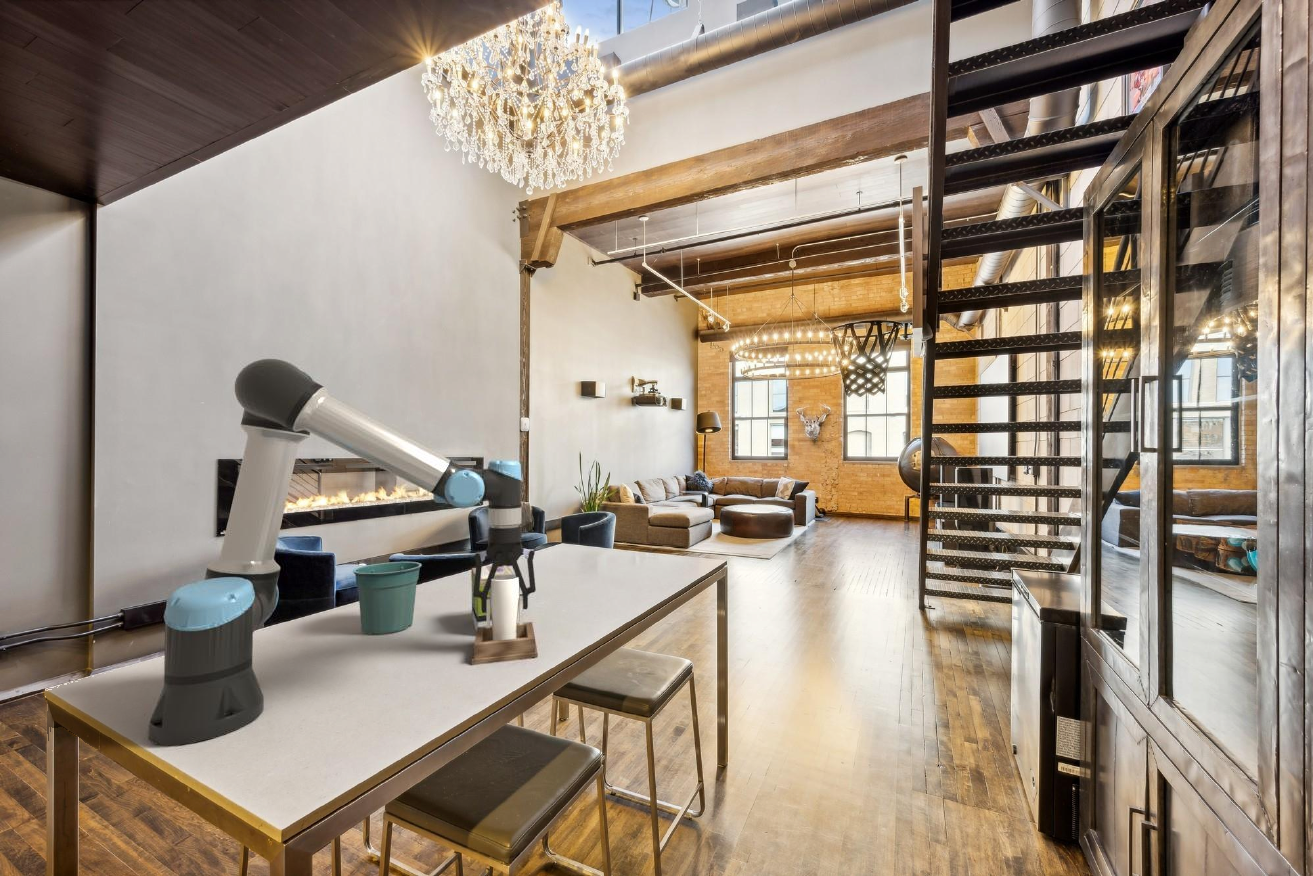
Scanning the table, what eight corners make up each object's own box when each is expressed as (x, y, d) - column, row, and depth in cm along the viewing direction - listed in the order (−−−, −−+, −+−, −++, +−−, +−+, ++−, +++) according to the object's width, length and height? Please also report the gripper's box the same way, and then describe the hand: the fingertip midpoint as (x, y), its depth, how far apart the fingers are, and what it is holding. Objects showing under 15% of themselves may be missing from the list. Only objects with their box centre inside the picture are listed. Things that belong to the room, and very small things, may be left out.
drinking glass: (483, 645, 121) (484, 579, 122) (499, 636, 128) (499, 573, 129) (510, 648, 120) (510, 581, 120) (524, 638, 126) (525, 574, 127)
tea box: (470, 620, 147) (470, 567, 148) (507, 615, 151) (507, 563, 152) (476, 637, 133) (476, 577, 134) (517, 631, 138) (517, 573, 138)
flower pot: (365, 620, 148) (366, 562, 149) (427, 616, 151) (428, 559, 152) (341, 640, 132) (342, 575, 132) (412, 635, 135) (412, 571, 135)
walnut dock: (471, 664, 115) (471, 646, 115) (475, 643, 129) (475, 626, 129) (537, 657, 119) (537, 639, 119) (534, 637, 133) (534, 621, 133)
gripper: (546, 522, 131) (546, 616, 130) (462, 525, 126) (461, 624, 125) (548, 526, 124) (548, 625, 123) (459, 529, 119) (459, 634, 118)
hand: (504, 624), depth 124 cm, fingers closed on drinking glass, 7 cm apart
